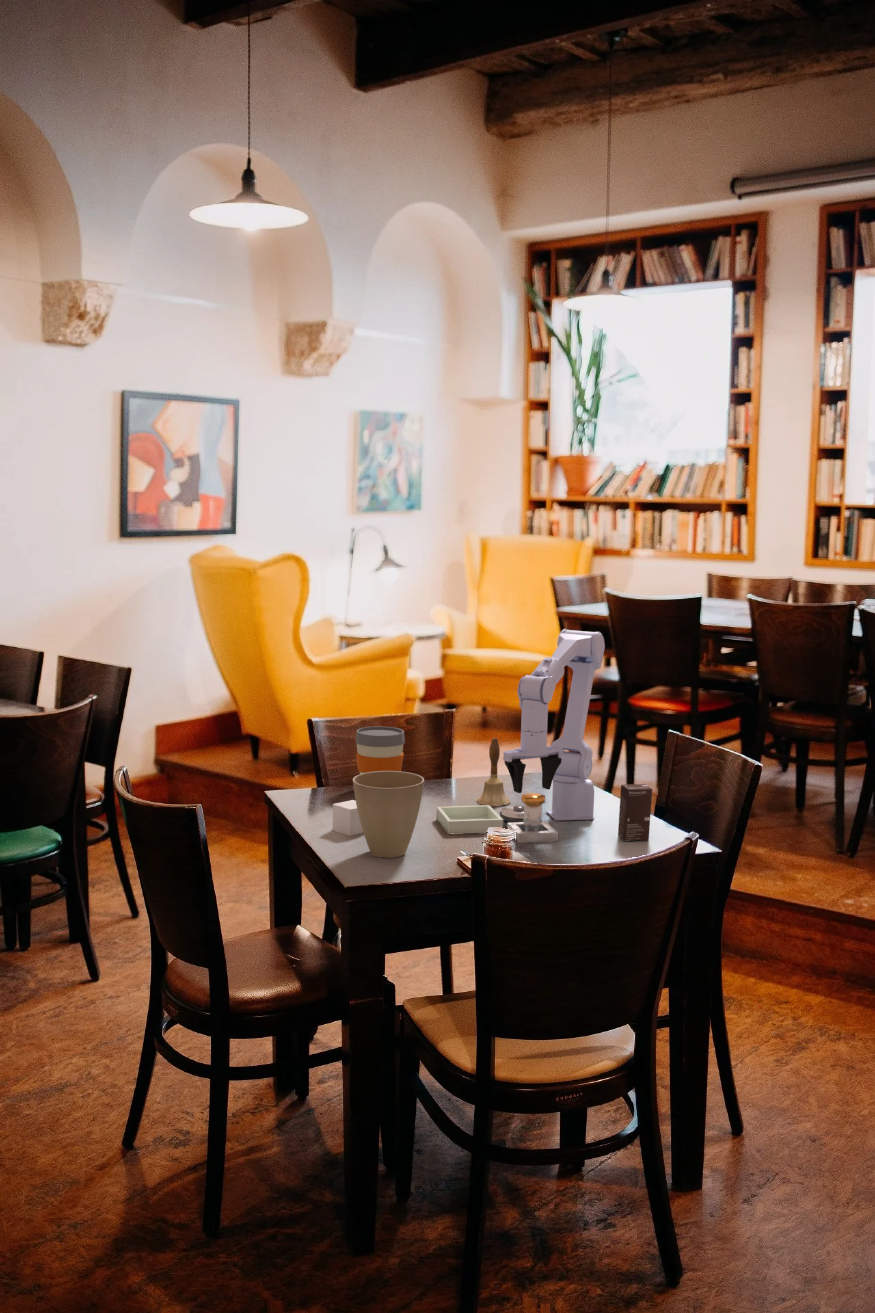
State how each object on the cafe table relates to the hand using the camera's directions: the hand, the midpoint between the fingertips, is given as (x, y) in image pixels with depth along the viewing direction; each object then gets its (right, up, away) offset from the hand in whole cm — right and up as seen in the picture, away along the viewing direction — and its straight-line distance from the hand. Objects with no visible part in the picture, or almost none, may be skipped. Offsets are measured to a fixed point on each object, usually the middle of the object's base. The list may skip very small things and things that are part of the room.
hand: (532, 790), depth 271 cm
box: (+23, -11, +1) cm, 25 cm away
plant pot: (-31, -12, -14) cm, 36 cm away
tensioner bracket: (-1, -10, +6) cm, 12 cm away
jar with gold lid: (0, -10, +1) cm, 10 cm away
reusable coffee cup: (-36, -4, +41) cm, 54 cm away
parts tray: (-14, -9, +8) cm, 18 cm away
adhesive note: (-40, -10, +3) cm, 41 cm away
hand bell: (-7, -6, +30) cm, 32 cm away
